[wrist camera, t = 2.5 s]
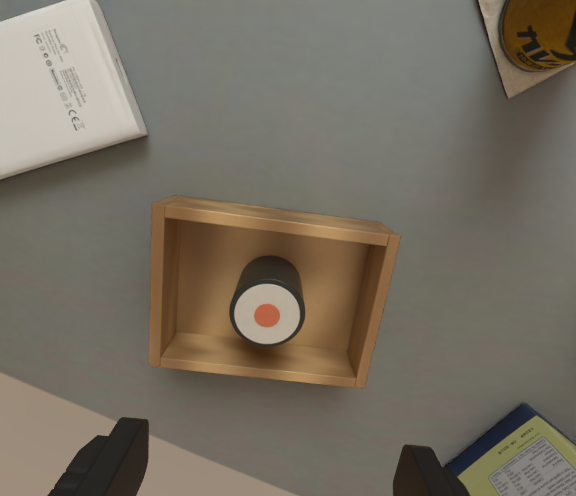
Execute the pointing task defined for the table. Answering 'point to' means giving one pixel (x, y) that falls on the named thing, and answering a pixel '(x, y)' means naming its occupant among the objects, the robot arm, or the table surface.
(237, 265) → the bento box
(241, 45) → the table surface
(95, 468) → the robot arm
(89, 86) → the hard drive
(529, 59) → the condiment
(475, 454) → the protein box
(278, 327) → the sushi roll
